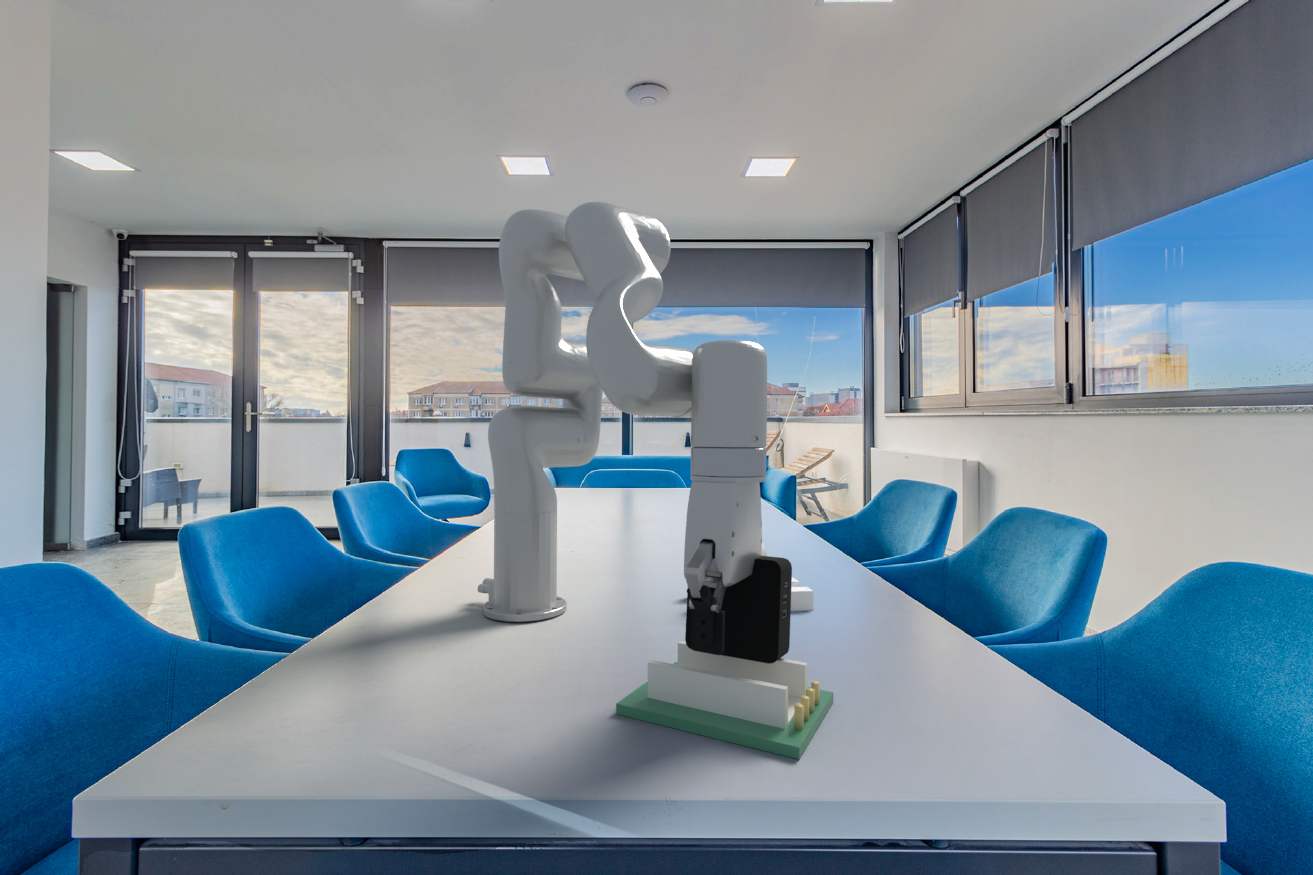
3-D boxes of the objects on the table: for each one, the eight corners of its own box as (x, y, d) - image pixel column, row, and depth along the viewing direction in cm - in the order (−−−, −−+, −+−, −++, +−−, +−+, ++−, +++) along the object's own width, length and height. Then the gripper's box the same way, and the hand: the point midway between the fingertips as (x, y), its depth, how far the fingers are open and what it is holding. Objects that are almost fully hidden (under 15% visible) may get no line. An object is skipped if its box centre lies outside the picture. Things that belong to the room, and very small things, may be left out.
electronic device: (777, 665, 60) (781, 561, 61) (684, 648, 65) (689, 552, 66) (789, 656, 64) (792, 558, 65) (700, 641, 69) (704, 550, 69)
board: (616, 713, 60) (616, 667, 60) (675, 670, 72) (675, 631, 72) (799, 759, 52) (799, 705, 52) (833, 701, 63) (833, 657, 63)
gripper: (725, 462, 71) (724, 611, 71) (654, 468, 56) (652, 657, 56) (789, 464, 68) (788, 620, 68) (732, 470, 53) (730, 672, 52)
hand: (726, 637), depth 62 cm, fingers open, 9 cm apart
